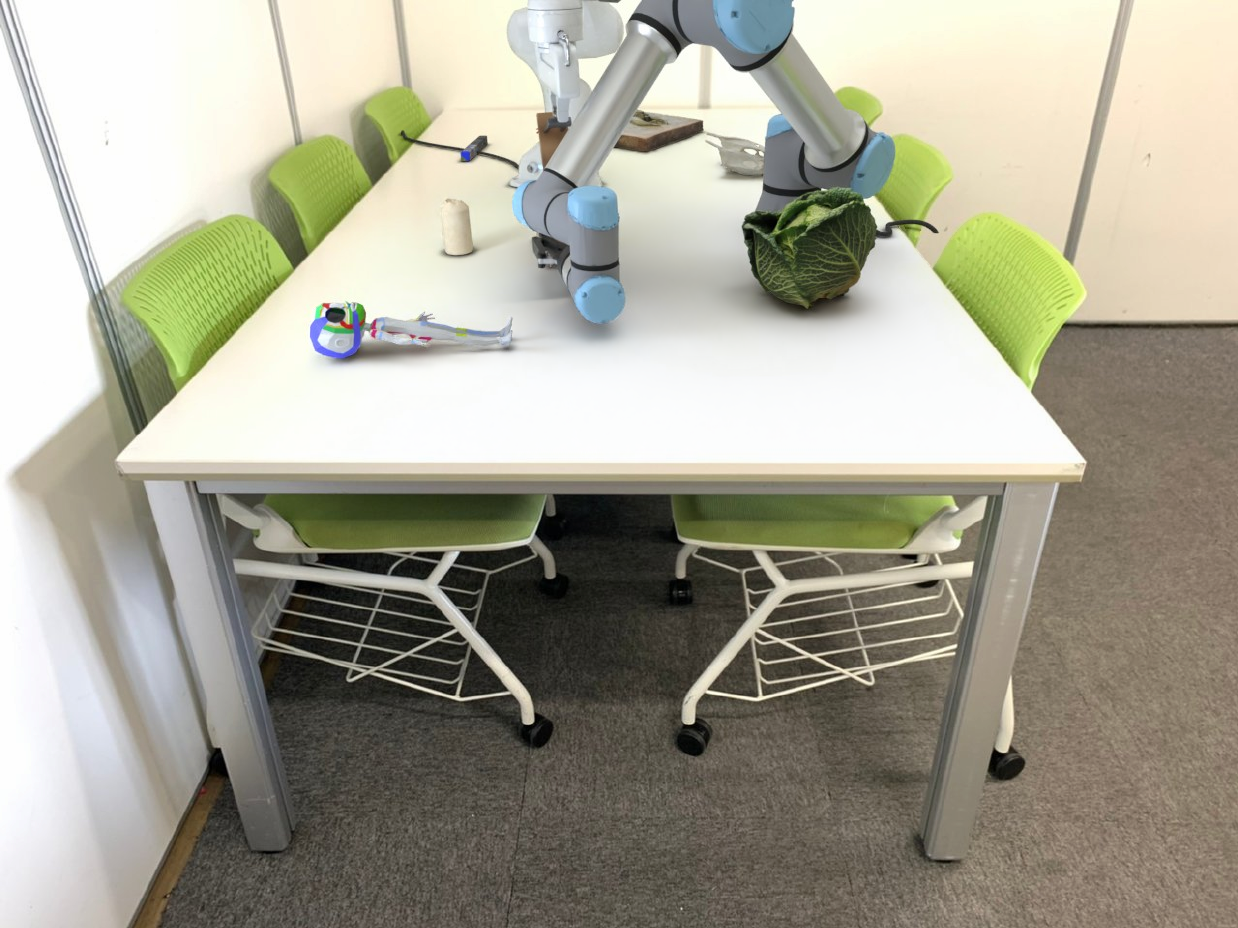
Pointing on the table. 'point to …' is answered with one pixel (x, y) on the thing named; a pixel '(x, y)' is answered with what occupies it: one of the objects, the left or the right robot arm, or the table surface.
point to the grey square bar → (474, 148)
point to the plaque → (656, 130)
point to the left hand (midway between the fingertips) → (560, 119)
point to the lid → (550, 134)
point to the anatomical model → (739, 155)
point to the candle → (456, 227)
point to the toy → (386, 330)
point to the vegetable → (811, 245)
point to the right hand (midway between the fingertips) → (559, 228)
